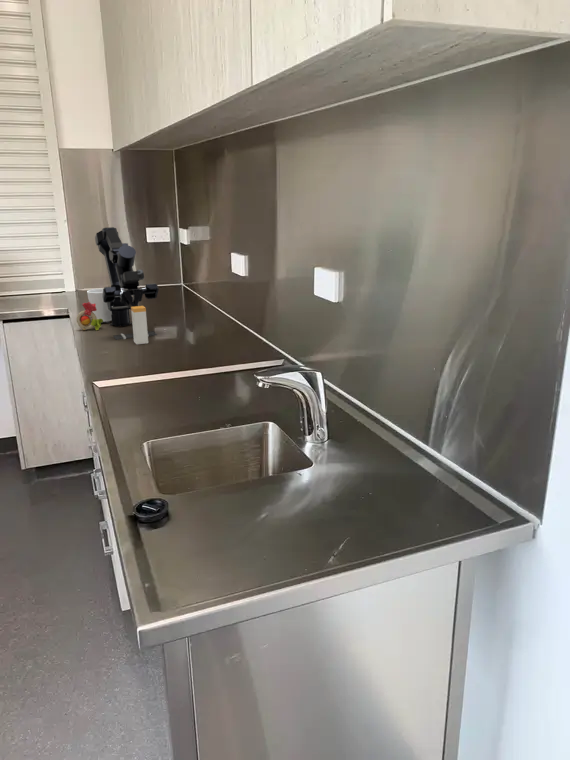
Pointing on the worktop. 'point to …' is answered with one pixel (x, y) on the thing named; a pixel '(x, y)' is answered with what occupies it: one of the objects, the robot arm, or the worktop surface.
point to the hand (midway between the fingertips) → (136, 312)
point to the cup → (99, 305)
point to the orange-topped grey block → (139, 324)
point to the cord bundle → (131, 335)
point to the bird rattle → (85, 320)
